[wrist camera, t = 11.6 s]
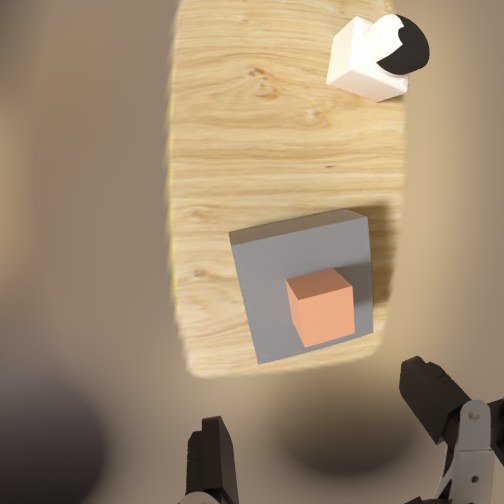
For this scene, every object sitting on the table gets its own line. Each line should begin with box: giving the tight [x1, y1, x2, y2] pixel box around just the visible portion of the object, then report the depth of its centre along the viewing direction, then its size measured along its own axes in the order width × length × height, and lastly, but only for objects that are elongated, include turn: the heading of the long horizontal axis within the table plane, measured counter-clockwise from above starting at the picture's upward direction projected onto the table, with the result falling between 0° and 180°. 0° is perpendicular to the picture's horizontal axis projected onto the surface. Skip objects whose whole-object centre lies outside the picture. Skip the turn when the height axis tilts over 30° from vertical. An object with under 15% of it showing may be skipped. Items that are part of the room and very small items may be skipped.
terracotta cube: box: [286, 268, 355, 347], centre depth 29 cm, size 5×5×5 cm
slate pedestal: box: [229, 208, 373, 364], centre depth 34 cm, size 14×14×6 cm
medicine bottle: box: [326, 14, 429, 102], centre depth 25 cm, size 7×7×12 cm
